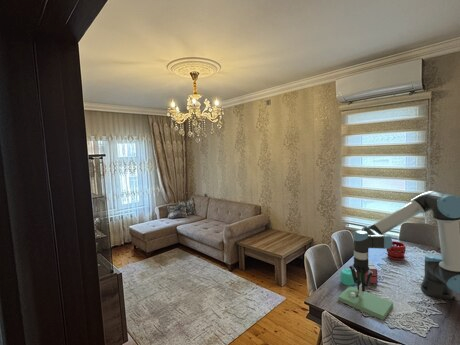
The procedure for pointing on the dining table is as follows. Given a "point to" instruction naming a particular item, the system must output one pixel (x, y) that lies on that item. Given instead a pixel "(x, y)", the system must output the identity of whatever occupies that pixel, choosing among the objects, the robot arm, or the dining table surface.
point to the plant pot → (396, 251)
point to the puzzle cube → (374, 275)
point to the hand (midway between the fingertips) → (361, 295)
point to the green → (366, 302)
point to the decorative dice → (347, 277)
